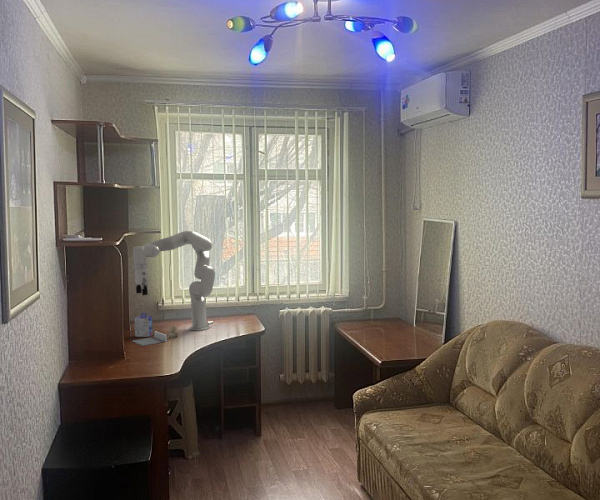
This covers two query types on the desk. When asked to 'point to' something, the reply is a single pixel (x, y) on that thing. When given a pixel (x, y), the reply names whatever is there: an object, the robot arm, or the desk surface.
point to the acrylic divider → (160, 336)
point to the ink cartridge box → (143, 326)
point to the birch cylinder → (173, 331)
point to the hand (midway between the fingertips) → (142, 294)
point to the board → (147, 341)
